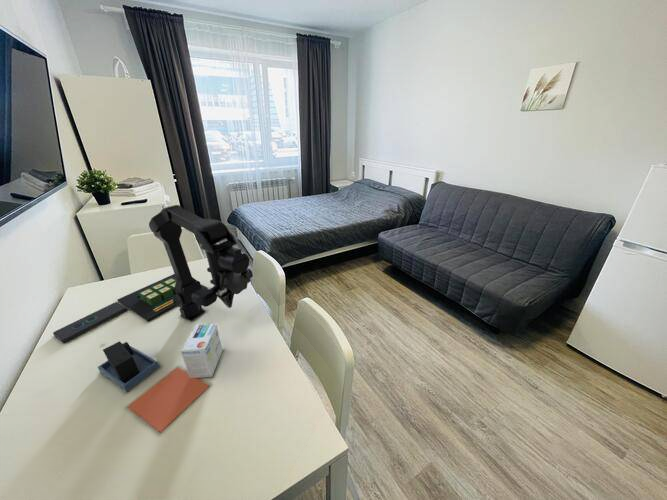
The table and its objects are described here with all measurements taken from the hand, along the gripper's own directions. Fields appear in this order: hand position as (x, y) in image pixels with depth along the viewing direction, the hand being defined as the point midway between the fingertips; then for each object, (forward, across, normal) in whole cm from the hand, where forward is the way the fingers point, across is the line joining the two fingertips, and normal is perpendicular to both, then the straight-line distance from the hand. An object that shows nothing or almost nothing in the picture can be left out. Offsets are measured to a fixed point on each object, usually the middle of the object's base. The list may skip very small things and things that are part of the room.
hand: (229, 307), depth 86 cm
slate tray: (+13, -24, +19) cm, 33 cm away
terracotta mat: (+13, -24, 0) cm, 27 cm away
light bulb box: (+13, -12, 0) cm, 18 cm away
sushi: (+13, +5, +48) cm, 50 cm away
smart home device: (+13, -18, +55) cm, 59 cm away
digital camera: (+13, -24, +19) cm, 33 cm away
